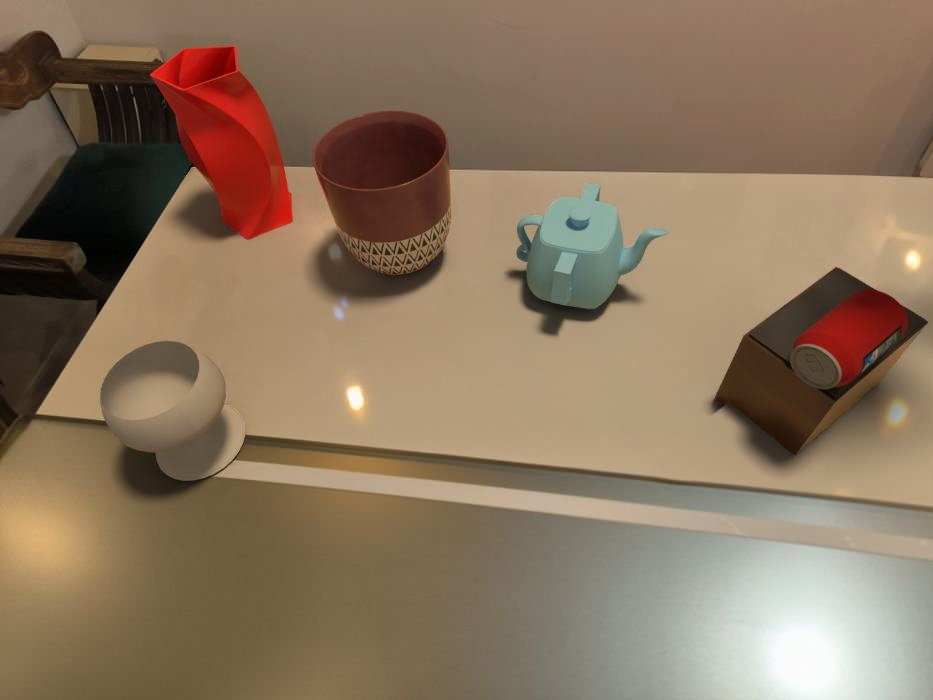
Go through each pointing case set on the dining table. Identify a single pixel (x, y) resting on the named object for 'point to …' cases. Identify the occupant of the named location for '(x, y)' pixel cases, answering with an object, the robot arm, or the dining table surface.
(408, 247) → the planter
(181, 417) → the chalice
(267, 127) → the vase
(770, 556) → the dining table surface
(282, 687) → the dining table surface
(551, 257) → the teapot
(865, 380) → the riser
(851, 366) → the beverage can
